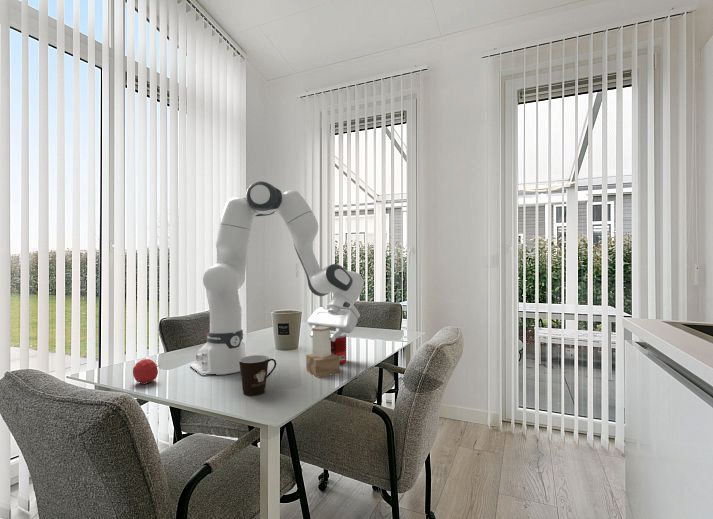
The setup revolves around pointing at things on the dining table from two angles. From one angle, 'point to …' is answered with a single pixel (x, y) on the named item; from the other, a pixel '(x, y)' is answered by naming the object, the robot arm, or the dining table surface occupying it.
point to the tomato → (145, 371)
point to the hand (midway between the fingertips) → (321, 338)
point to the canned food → (339, 347)
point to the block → (323, 365)
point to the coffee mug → (254, 374)
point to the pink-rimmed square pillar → (321, 341)
